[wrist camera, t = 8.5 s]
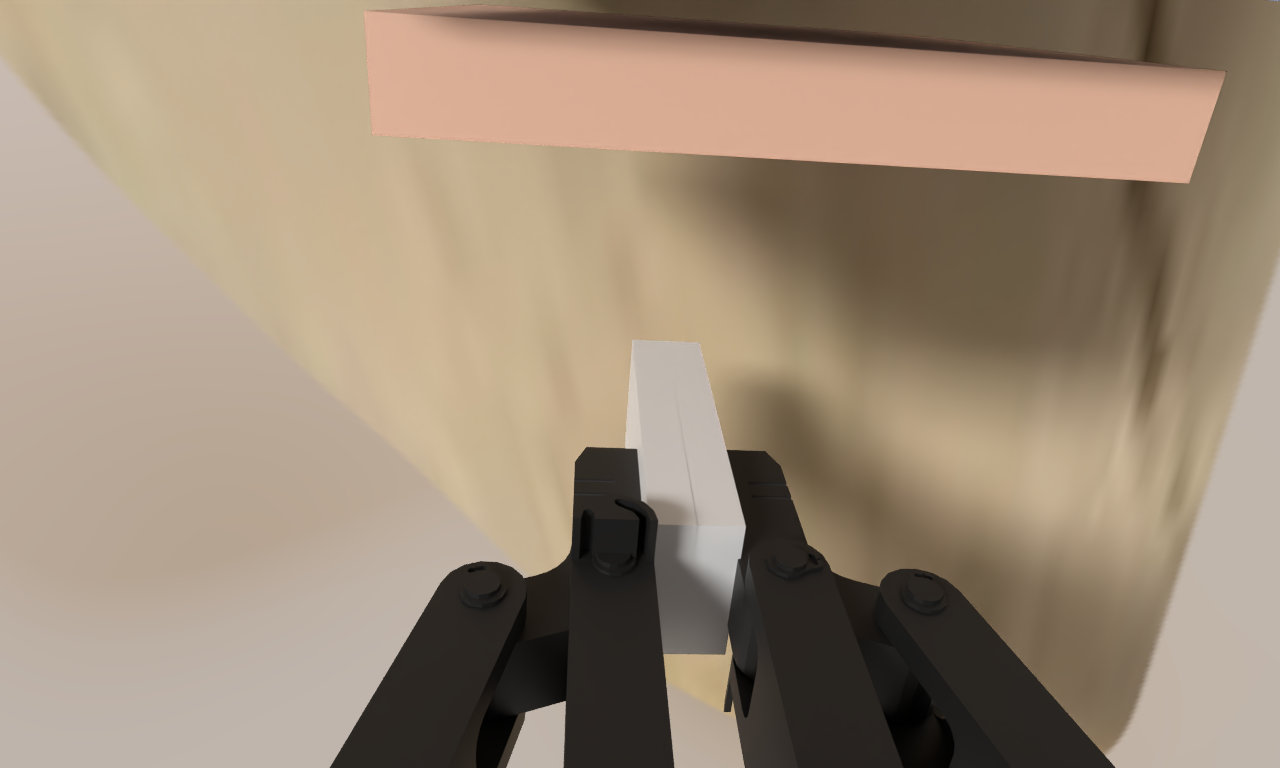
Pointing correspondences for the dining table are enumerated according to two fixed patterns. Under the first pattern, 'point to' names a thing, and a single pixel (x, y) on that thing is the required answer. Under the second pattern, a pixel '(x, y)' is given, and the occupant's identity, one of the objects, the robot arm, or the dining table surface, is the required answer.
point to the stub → (779, 93)
